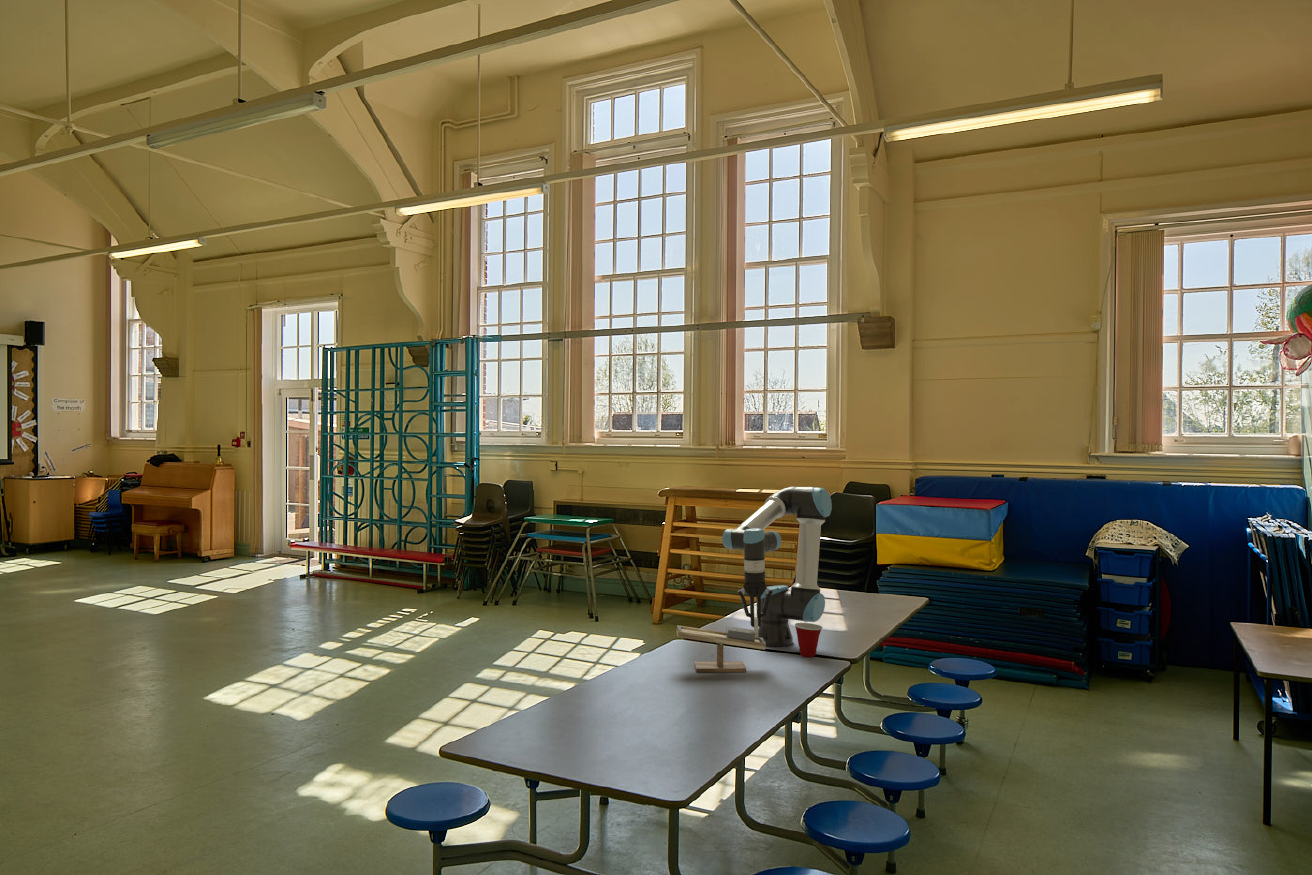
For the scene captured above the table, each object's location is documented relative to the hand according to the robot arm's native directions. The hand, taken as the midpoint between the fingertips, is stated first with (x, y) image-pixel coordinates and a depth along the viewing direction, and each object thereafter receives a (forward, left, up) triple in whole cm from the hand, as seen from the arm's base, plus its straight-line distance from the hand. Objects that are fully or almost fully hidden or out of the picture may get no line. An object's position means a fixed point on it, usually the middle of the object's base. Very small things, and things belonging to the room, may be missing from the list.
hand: (755, 635), depth 322 cm
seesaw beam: (0, -13, -2) cm, 13 cm away
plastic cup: (-18, +23, -12) cm, 31 cm away
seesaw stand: (0, -13, -12) cm, 18 cm away
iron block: (0, -6, -1) cm, 6 cm away
